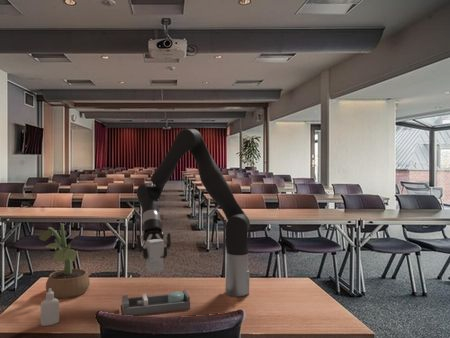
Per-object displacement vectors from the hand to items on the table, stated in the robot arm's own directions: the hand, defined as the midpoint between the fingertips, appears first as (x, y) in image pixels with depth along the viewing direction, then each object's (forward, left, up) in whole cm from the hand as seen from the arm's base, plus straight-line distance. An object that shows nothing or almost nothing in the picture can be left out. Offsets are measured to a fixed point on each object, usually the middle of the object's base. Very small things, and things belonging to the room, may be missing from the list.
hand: (155, 257), depth 152 cm
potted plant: (+35, -15, -17) cm, 42 cm away
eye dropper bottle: (+37, +12, -17) cm, 42 cm away
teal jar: (-6, +10, -16) cm, 20 cm away
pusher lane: (+1, +10, -17) cm, 19 cm away
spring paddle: (+6, +10, -16) cm, 19 cm away
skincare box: (0, -2, -6) cm, 6 cm away
